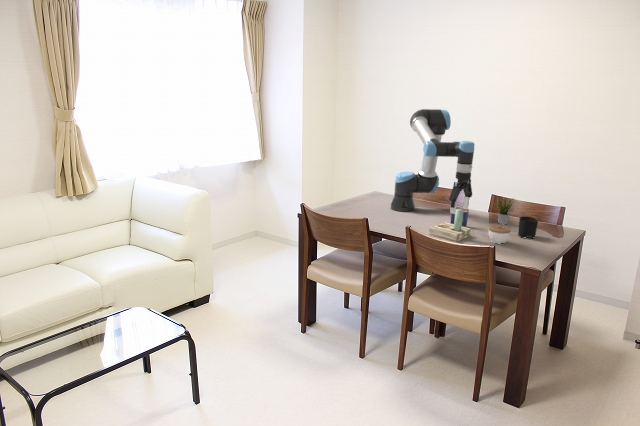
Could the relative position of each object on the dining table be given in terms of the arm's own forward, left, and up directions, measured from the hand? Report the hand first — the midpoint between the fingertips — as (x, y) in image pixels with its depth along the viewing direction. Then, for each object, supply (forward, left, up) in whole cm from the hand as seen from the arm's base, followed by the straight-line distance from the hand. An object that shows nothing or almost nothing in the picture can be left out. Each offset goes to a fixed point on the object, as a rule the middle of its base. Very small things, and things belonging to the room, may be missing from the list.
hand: (459, 211), depth 270 cm
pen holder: (-31, +25, -15) cm, 42 cm away
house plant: (-46, +6, -15) cm, 48 cm away
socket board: (0, -4, -14) cm, 15 cm away
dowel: (0, 0, -13) cm, 13 cm away
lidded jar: (-9, +19, -15) cm, 26 cm away
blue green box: (-20, -10, -15) cm, 27 cm away
